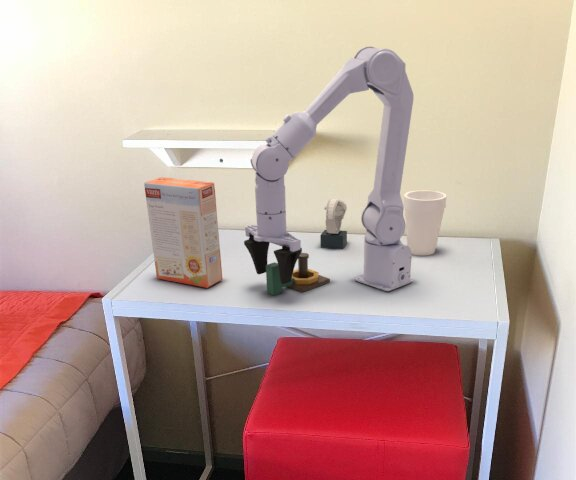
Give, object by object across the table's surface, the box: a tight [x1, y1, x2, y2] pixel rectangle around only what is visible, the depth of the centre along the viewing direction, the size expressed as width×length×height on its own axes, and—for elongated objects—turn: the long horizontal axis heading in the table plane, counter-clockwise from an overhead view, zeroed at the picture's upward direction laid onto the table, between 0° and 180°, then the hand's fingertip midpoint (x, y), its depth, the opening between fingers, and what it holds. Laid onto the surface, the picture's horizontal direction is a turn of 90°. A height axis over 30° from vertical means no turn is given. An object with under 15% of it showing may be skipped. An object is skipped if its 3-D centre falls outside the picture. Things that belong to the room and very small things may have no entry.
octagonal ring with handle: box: [265, 262, 320, 296], centre depth 137 cm, size 12×6×6 cm, turn 131°
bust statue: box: [320, 198, 348, 250], centre depth 158 cm, size 6×8×11 cm
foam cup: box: [403, 189, 447, 256], centre depth 152 cm, size 10×9×13 cm
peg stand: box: [286, 252, 331, 293], centre depth 139 cm, size 8×8×6 cm
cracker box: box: [143, 176, 223, 289], centre depth 139 cm, size 14×6×21 cm, turn 59°
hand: (273, 277), depth 134 cm, fingers open, 7 cm apart
